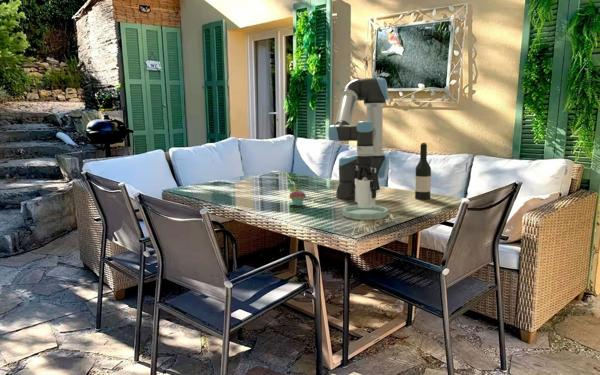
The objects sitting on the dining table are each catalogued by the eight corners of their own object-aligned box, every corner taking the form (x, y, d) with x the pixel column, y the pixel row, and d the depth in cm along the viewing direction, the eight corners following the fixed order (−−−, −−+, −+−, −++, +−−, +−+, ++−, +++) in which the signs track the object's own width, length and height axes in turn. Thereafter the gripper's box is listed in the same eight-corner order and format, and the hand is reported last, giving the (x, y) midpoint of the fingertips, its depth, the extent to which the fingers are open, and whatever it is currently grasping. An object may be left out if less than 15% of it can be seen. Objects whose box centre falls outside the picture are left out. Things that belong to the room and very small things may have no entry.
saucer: (335, 217, 206) (335, 211, 206) (353, 208, 223) (353, 203, 223) (377, 221, 196) (377, 216, 195) (393, 212, 213) (393, 207, 212)
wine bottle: (427, 200, 238) (429, 143, 233) (412, 199, 243) (413, 143, 238) (432, 197, 245) (433, 142, 240) (417, 196, 250) (418, 142, 245)
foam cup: (374, 209, 203) (374, 180, 201) (354, 208, 205) (354, 180, 203) (375, 204, 212) (375, 177, 210) (355, 204, 214) (355, 177, 212)
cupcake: (294, 206, 231) (293, 183, 229) (286, 203, 238) (286, 181, 236) (308, 204, 234) (308, 182, 232) (301, 201, 242) (300, 180, 240)
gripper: (343, 154, 212) (343, 200, 215) (375, 157, 194) (375, 208, 197) (355, 153, 216) (355, 198, 219) (388, 156, 198) (387, 205, 201)
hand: (365, 203), depth 208 cm, fingers closed on foam cup, 9 cm apart
